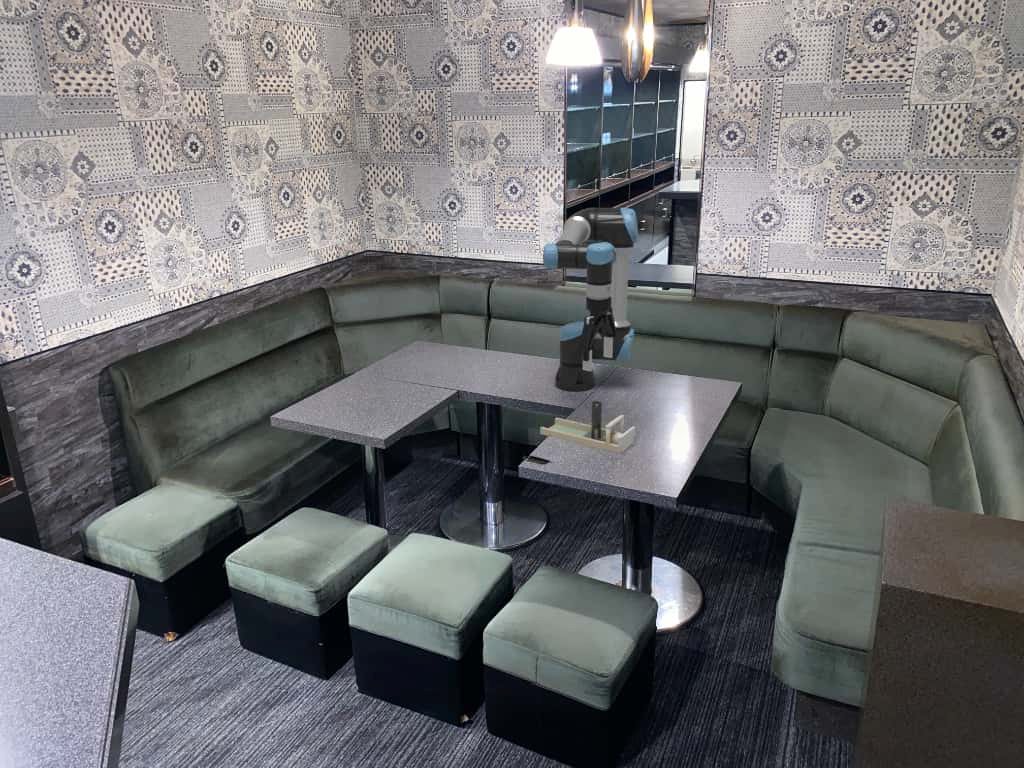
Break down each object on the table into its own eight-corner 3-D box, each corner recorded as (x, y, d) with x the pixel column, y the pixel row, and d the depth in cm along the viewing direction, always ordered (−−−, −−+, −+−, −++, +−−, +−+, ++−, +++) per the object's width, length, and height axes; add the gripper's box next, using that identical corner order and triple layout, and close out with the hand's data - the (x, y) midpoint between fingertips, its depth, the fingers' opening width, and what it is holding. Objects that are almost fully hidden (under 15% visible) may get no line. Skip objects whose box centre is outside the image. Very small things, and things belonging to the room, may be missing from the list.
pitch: (540, 437, 247) (539, 410, 244) (556, 426, 255) (556, 400, 252) (620, 457, 232) (620, 429, 229) (634, 445, 240) (636, 418, 237)
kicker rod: (580, 440, 241) (581, 404, 237) (591, 433, 246) (591, 397, 242) (605, 446, 236) (606, 409, 232) (615, 439, 242) (616, 402, 237)
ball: (620, 449, 235) (608, 445, 237) (626, 444, 238) (614, 440, 240) (622, 437, 234) (610, 433, 236) (628, 433, 237) (616, 429, 239)
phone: (521, 457, 232) (546, 439, 244) (521, 460, 233) (546, 442, 244) (544, 462, 228) (568, 444, 240) (544, 466, 229) (568, 447, 241)
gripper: (590, 308, 221) (589, 378, 229) (628, 288, 240) (626, 353, 248) (567, 305, 225) (567, 373, 233) (606, 285, 244) (605, 349, 252)
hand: (597, 363), depth 241 cm, fingers open, 13 cm apart
